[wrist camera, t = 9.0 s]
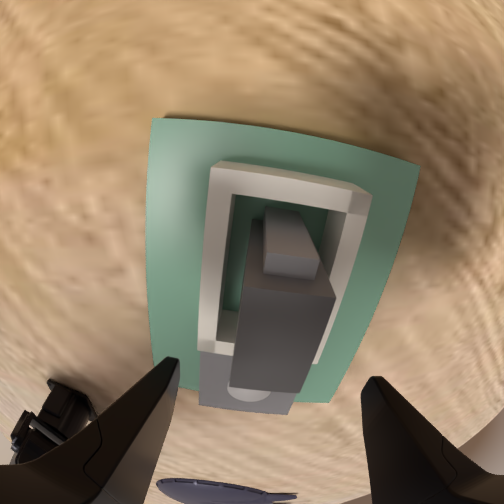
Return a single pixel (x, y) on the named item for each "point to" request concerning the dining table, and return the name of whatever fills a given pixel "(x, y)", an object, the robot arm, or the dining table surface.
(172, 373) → the robot arm
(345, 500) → the dining table surface
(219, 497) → the toy spaceship
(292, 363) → the plug
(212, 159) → the board
